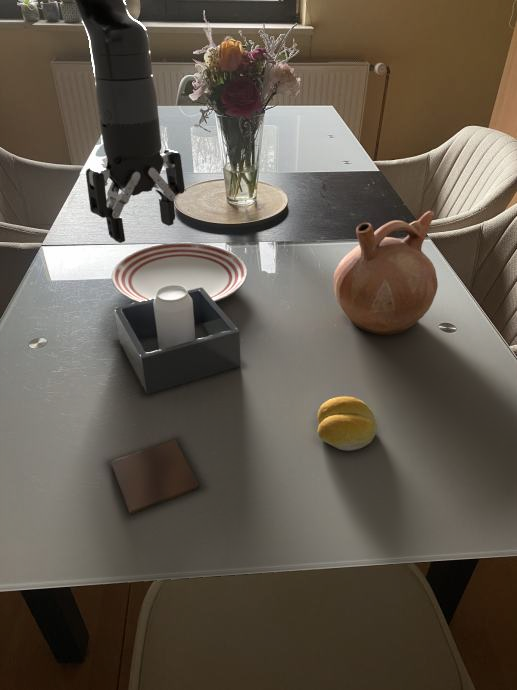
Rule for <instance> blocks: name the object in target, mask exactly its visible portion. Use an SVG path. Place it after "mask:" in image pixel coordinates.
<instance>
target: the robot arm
mask: <svg viewBox="0 0 517 690" xmlns="http://www.w3.org/2000/svg"><path fill="white" fill-rule="evenodd" d="M125 1H126V0H74V3H75V5H76V8H77V11H78V14H79V16H80V19H81V22H82V24H83V26H84V29H85V31H86V34H87V36H88V40H89V48H90V55H91V62H92V67H93V73H94V82H95V99H96V107H97V113H98V119H99V125H100V132H101V138H102V145H103V150H104V153H105V156H106V160H107V161H106V166H105V168H100V169H99V168H98V169H93V168H91V167H90V168H89V167H88V168H87V169H86V171H85V178H86V186H87V194H88V201H89V210H90V212H91V213H92V214H94V215H97V216H99V217H100V218H102V219H103V218H104V219H105V220H106V225H107V230H108V235H109V237H110V238H111V239H113V241H115V242H117V243H119V244H121V243H125V242H126V235H125V229H124V223H123V217H121V214H122V212H123V209H124V207H125V205H127V204H128V203H129V201H130V198H131V197H132V196H133V197H134V196H138V195H140V194H141V193H145V192H146V193H148V192H151V191H153V190H154V191H155V192H156V194H157V195H158V196H159V197H160V198H158V204H159V213H160V220H161V223H162V224H164V225H165V226H168V227H170V226H174V221H175V220H176V211H175V210H176V209H175V200H176V198H177V196H178V195H179V194H180V195H181V194H182V195H183V194H184V192H185V191H186V188H185V187H186V186H185V179H184V171H183V163H182V157H181V156H182V155H181V153H180V152H178V151H174V150H171V149H169V148H166V149H164V151H163V153H161V150H162V137H161V127H160V117H159V116H160V115H159V108H158V97H157V91H156V86H155V82H154V76H153V67H152V57H151V50H150V41H149V36H148V35H149V34H148V31H147V29H146V27H145V26H144V25H143V24H142V23H141V22H140V21H138V20H136V19H134V18H133V17H132V16H131V15H130V13H129V11H128V8H127V4H126V2H125ZM163 167H164V168H165V173H166V174H165V175H166V180H167V181H166V180H165V179H164V178H163V177H162V176H161V172H162V170H163ZM109 179H110V180H111V184H110V186H109V187H108V190H106V186H108V184H109V183H108V180H109ZM106 191H107V192H106ZM120 191H121V192H120Z"/></svg>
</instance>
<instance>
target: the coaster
mask: <svg viewBox="0 0 517 690" xmlns="http://www.w3.org/2000/svg"><path fill="white" fill-rule="evenodd" d="M110 465H111V468H112V470H113V472H114V475H115V478H116V481H117V484H118V486H119V489H120V492H121V494H122V497H123V501H124V502H125V505H126V508H127V511H128V513H129V515H132V514H135V513H138V512H140V511H142V510H145V509H148V508H151V507H154V506H155V505H159V504H161V503H164V502H167V501H169V500H172V499H174V498H177V497H180V496H182V495H185V494H188V493H190V492H193V491H195V490H198V489H200V484H199V481H198V480H197V479H196V477H195V475H194V473H193V471H192V469H191V467H190V465H189V463H188V461H187V460H186V458H185V456H184V454H183V452H182V450H181V448H180V446H179V444H178V442H177V440H176V439H173V440H170V441H167V442H164V443H160V444H158V445H155V446H152V447H149V448H147V449H143V450H141V451H138V452H135V453H134V452H133V453H131V454H128V455H126V456H123V457H120V458H117V459H114V460H112V461H110Z"/></svg>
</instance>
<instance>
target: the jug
mask: <svg viewBox="0 0 517 690" xmlns="http://www.w3.org/2000/svg"><path fill="white" fill-rule="evenodd" d="M435 215H436V214H435V212H434V211H433V210H428V211H426V212H424V214H423V215H421V216H420V218H419V219H418V220H414V221H412V222H410V223H408V222H406V221H403V220H398V219H397V220H391V221H388V222H387V223H384V224H383V225H382V226H380V227H379V228H378V229H376V230H374V228H373V225H372V223H369V222H362V223H360V224H358V225H357V227H356V228H355V234H356V237H357V241H358V245H357V246H355V247H354V248H353V249H352V250H350V251H349V252H348V253H347V254H346V255H345V256H344V257H343V258H342V259H341V261H339V263H338V265H337V267H336V269H335V270H334V274H333V291H334V295H335V296H334V297H335V299H336V301H337V303H338V304H339V306H340V308H341V310H342V311H343V313H344V314H345V315H346V316H347V318H348V320H349V321H351V323H352V324H353V325H354V326H356V327H357V328H359V329H361V330H363V331H365V332H368V333H370V334H374V335H380V336H381V335H382V336H384V335H385V336H389V335H397V334H401V333H402V332H404V331H406V330H408V329H409V328H410V327H412V326H413V325H414V324H416V323H418V322H419V321H420V320H421V319H422V318H423V317H424V316H425V315H426V314H427V313H428V311H429V310H430V308H431V306H432V304H433V303H434V300H435V297H436V294H437V292H438V287H439V284H438V283H439V281H438V276H437V271H436V267H435V266H434V263H433V262H432V261H431V259H430V258H429V257H428V256H427V255H426V254H425V253H424V252H423V250H422V247H423V243H424V241H425V239H426V236H427V233H428V231H429V229H430V226H431V224H432V222H433V220H434V219H435ZM396 232H403V233H405V234H407V236H406V237H405V238H403V239H400V238H396V237H390V235H391V234H394V233H396Z"/></svg>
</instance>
